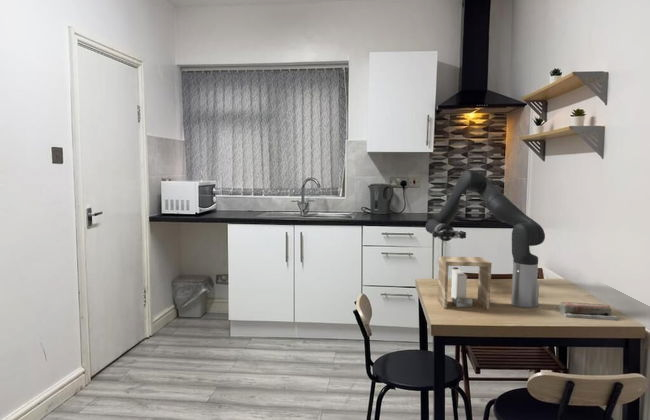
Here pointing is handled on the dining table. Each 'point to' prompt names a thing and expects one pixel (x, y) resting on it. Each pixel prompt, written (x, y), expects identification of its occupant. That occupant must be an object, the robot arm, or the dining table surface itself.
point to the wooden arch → (483, 281)
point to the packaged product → (586, 311)
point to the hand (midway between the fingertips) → (452, 236)
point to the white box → (458, 284)
